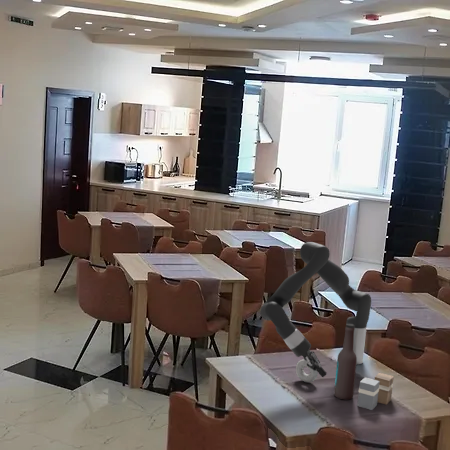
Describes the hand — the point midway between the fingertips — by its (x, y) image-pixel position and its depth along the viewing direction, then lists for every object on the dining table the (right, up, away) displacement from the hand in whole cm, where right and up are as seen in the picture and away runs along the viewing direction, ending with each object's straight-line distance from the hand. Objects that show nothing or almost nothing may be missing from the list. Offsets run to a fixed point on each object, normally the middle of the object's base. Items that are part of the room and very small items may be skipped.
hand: (324, 375), depth 275 cm
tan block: (+23, -10, 0) cm, 25 cm away
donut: (-6, -6, +13) cm, 15 cm away
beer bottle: (+8, -9, 0) cm, 12 cm away
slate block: (+16, -10, -7) cm, 20 cm away
